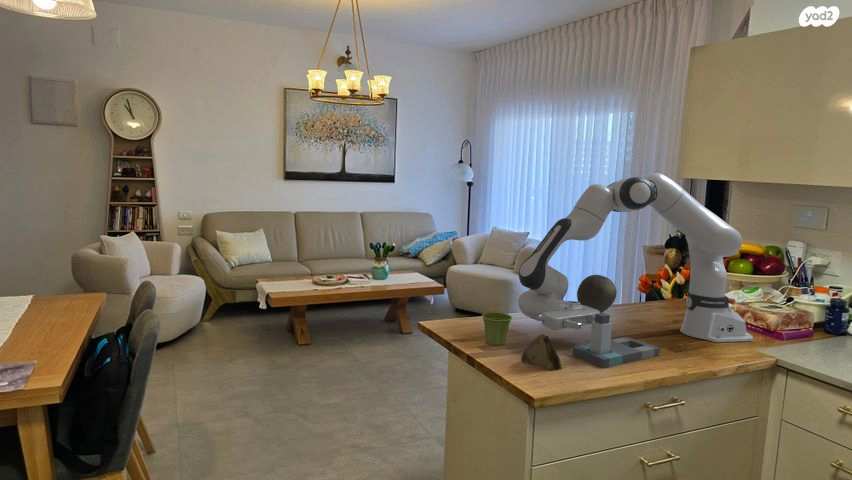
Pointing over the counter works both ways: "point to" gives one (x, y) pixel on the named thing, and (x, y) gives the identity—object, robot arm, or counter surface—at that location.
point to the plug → (601, 334)
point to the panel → (617, 352)
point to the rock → (542, 354)
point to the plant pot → (496, 327)
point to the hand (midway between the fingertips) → (590, 324)
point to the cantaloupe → (597, 292)
